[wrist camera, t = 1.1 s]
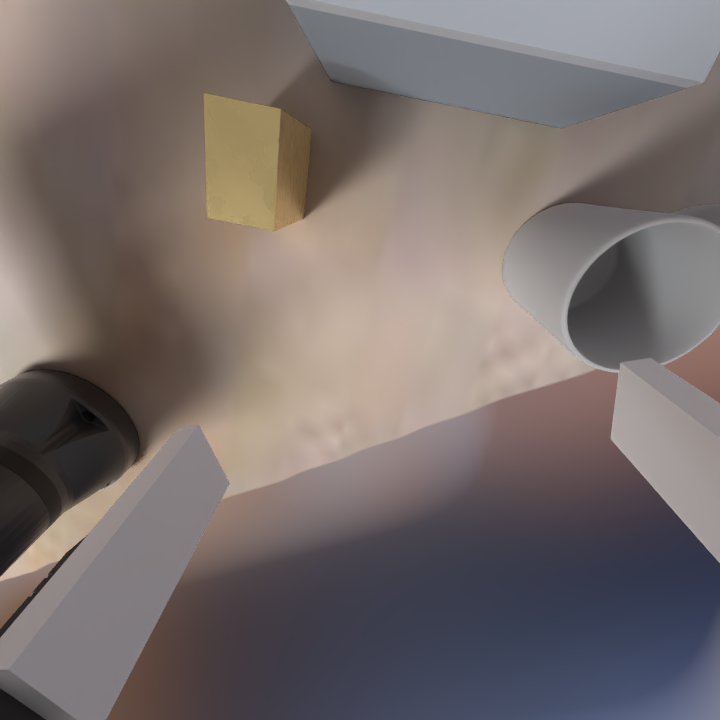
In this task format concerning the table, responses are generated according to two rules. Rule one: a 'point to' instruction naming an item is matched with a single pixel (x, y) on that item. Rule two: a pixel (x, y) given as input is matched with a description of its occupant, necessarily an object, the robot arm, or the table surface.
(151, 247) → the table surface
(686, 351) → the mug
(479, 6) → the grey box with hole
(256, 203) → the gold rectangular block
